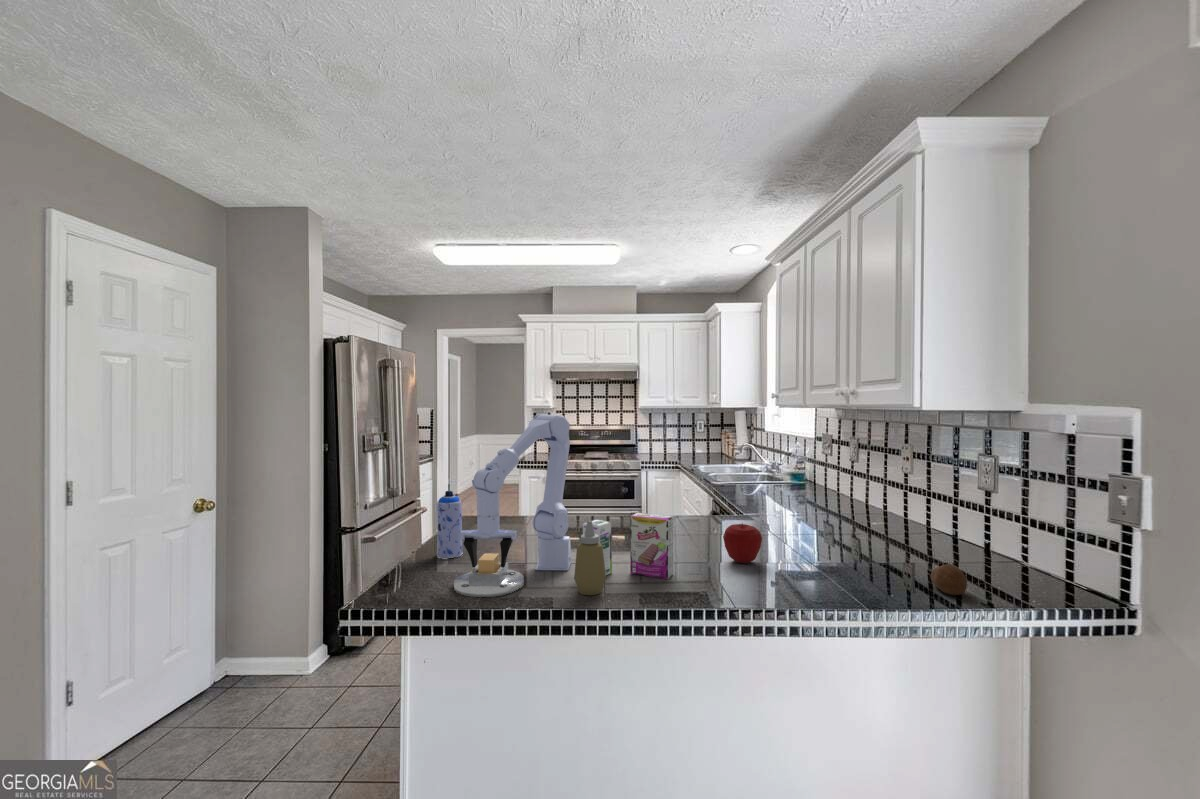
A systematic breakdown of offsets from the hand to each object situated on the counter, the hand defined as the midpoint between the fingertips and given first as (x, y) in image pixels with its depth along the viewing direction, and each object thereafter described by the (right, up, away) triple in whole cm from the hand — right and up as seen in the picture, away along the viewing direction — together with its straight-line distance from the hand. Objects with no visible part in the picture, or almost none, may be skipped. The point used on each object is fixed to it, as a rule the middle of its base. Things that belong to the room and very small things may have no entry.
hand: (489, 566), depth 151 cm
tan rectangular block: (0, -4, 0) cm, 3 cm away
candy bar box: (+44, -5, +8) cm, 44 cm away
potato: (+117, -5, -7) cm, 117 cm away
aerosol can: (-17, -5, +27) cm, 33 cm away
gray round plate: (0, -5, 0) cm, 5 cm away
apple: (+71, -4, +18) cm, 74 cm away
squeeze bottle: (+27, -5, -5) cm, 28 cm away
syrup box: (+29, -5, +8) cm, 30 cm away
